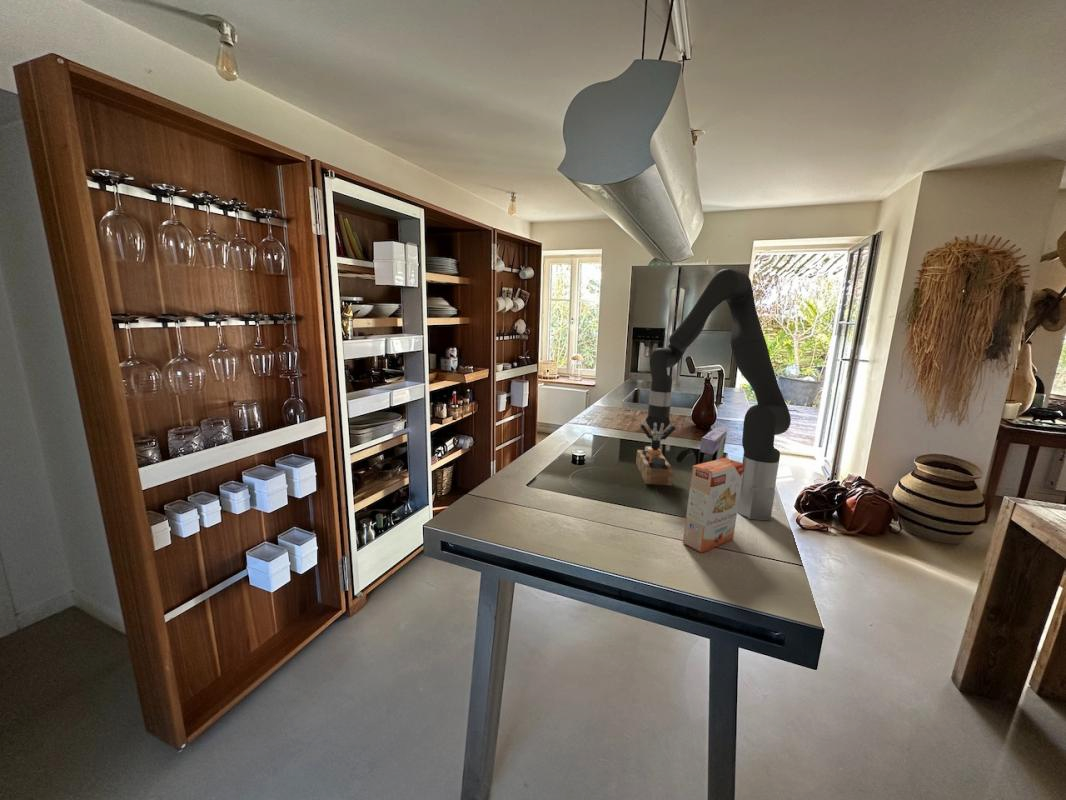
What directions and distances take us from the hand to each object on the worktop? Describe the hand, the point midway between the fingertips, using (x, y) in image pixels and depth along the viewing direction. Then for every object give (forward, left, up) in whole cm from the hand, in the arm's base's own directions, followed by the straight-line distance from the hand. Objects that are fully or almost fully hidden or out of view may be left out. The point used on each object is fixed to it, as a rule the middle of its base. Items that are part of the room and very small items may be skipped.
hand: (655, 449), depth 154 cm
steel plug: (+7, 0, -9) cm, 11 cm away
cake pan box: (-3, -19, -10) cm, 21 cm away
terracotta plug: (0, 0, -7) cm, 7 cm away
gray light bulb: (-7, 0, -9) cm, 11 cm away
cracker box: (-49, -5, -10) cm, 50 cm away
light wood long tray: (0, 0, -9) cm, 9 cm away
